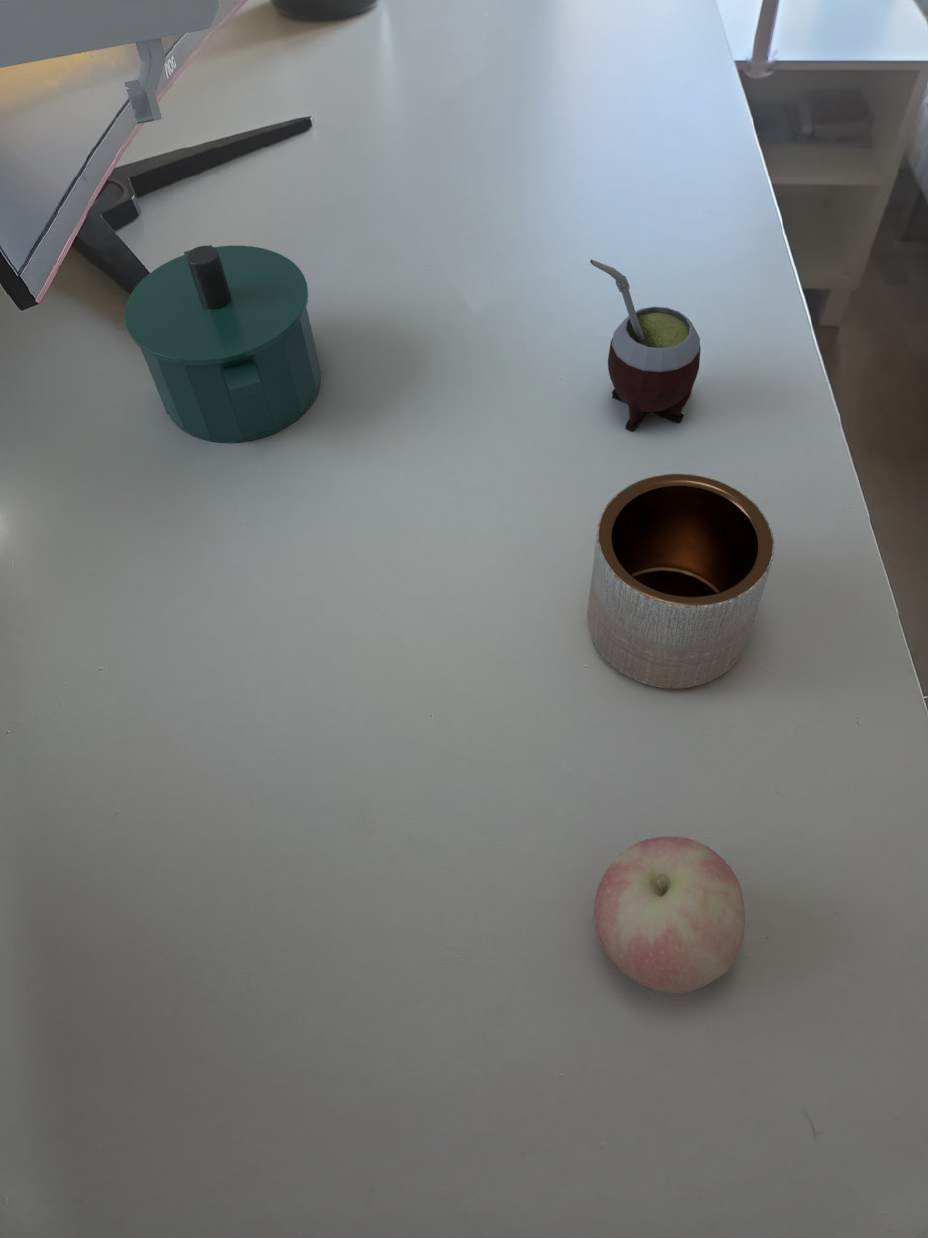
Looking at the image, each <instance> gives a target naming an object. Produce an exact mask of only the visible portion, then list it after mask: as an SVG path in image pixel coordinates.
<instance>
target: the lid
mask: <svg viewBox="0 0 928 1238" xmlns="http://www.w3.org/2000/svg"><path fill="white" fill-rule="evenodd" d="M190 250H191V251H190V252H189V253H188V254H183V255H180V256H178V257H175V258H173V259H170V260H169V261H167V262H165V263H163V264H162V265H160V266H158V267H157V268H155V269H154V270H152V271H151V272H149V273H148V274H147V275H146V276H145V277H144V278H142V280H141V281H140V282H139V283H138V284H137V285H136V286H135V287H134V289H133V290H132V292H131V294H130V295H129V297H128V299H127V301H126V304H125V308H124V324H125V327H126V329H127V332H128V334H129V336H130V338H131V340H132V341H133V342H134V344H135V345H137V347H138V348H139V349H140V350H141V349H142V350H144V351H145V352H146V353H148V354H150V355H152V356H154V357H156V358H158V359H161V360H164V361H167V362H172V363H176V364H184V365H214V364H220V363H226V362H231V361H235V360H239V359H242V358H245V357H248V356H251V355H253V354H256V353H258V352H260V351H262V350H264V349H266V348H268V347H270V346H272V345H273V344H275V343H276V342H278V341H279V340H281V339H282V338H283V337H284V336H286V335H287V334H288V333H289V332H290V331H291V330H292V329H293V328H294V327H295V326H296V325H297V323H298V322H299V321H300V319H301V318H302V316H303V314H304V312H305V310H306V307H308V303H309V287H308V282H307V280H306V277H305V275H304V273H303V272H302V270H301V269H300V267H298V266H297V264H296V263H295V262H293V260H290V259H289V257H286V256H284V255H283V254H281V253H278V252H276V251H273V250H270V249H266V248H263V247H259V246H258V247H257V246H251V245H220V246H209V245H199V246H196V247H194V248H192V249H190ZM142 350H141V351H142Z"/></svg>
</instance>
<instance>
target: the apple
mask: <svg viewBox="0 0 928 1238" xmlns="http://www.w3.org/2000/svg"><path fill="white" fill-rule="evenodd" d="M593 920H594V928H595V932H596V935H597V938H598V941H599V943H600V945H601V946H602V949H603V950H604V951H605V953H606V955H607V956H608V957H609V959H610V960H611V961H612V963H613V964H614V965H615V966H616V967H617V968H618V969H619V970H620V971H621V972H622V973H624V974H626V976H628V977H629V978H631V979H632V980H634V981H635V982H636V983H639V984H640V985H642V986H644V987H647V988H649V989H651V990H655V991H657V992H662V993H667V994H668V993H669V994H683V993H684V994H685V993H690V992H693V991H696V990H699V989H701V988H704V987H705V986H708V985H709V984H710V983H712V982H713V981H715V980H717V979H719V978H720V977H721V976H723V975H724V974H725V973H727V972H728V971H729V970H730V969H731V968H732V966H733V965H734V964H735V962H736V960H737V958H738V956H739V954H740V951H741V948H742V944H743V941H744V937H745V931H746V910H745V903H744V897H743V891H742V888H741V884H740V882H739V879H738V877H737V876H736V874H735V872H734V871H733V869H732V868H731V866H730V865H729V864H728V863H727V862H726V860H725V859H724V858H723V857H721V856H720V855H719V853H717V852H716V851H715V850H713V849H712V848H711V847H709V846H708V845H706V844H704V843H702V842H700V841H697V840H694V839H691V838H687V837H685V836H684V837H683V836H658V837H653V838H648V839H644V840H641V841H639V842H637V843H635V844H633V845H631V846H630V847H628V848H626V849H625V850H624V851H622V852H620V853H619V855H617V856H616V857H615V858H614V859H613V860H612V861H611V863H610V864H609V865H608V867H607V868H606V870H605V871H604V873H603V874H602V877H601V879H600V881H599V882H598V886H597V889H596V893H595V896H594V904H593Z"/></svg>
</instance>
